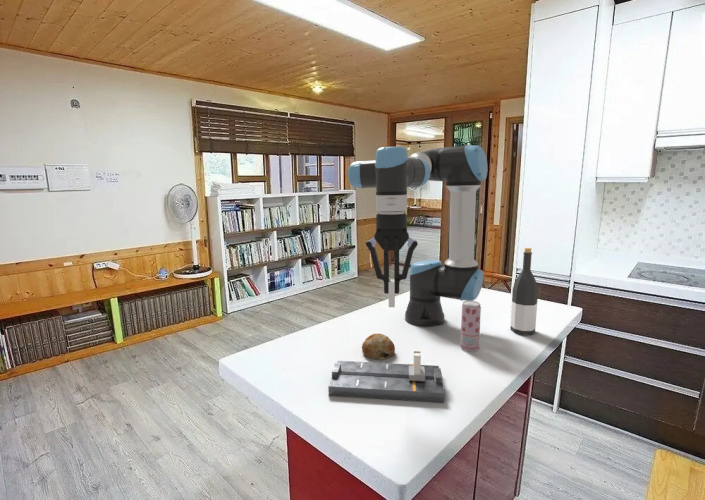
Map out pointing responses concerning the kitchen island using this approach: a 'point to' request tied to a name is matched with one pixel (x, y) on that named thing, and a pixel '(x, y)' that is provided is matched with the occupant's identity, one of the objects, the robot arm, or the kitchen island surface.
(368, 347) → the bread roll
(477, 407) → the kitchen island surface
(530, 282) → the wine bottle
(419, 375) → the fader
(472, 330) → the beverage can
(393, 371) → the console
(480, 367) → the kitchen island surface
